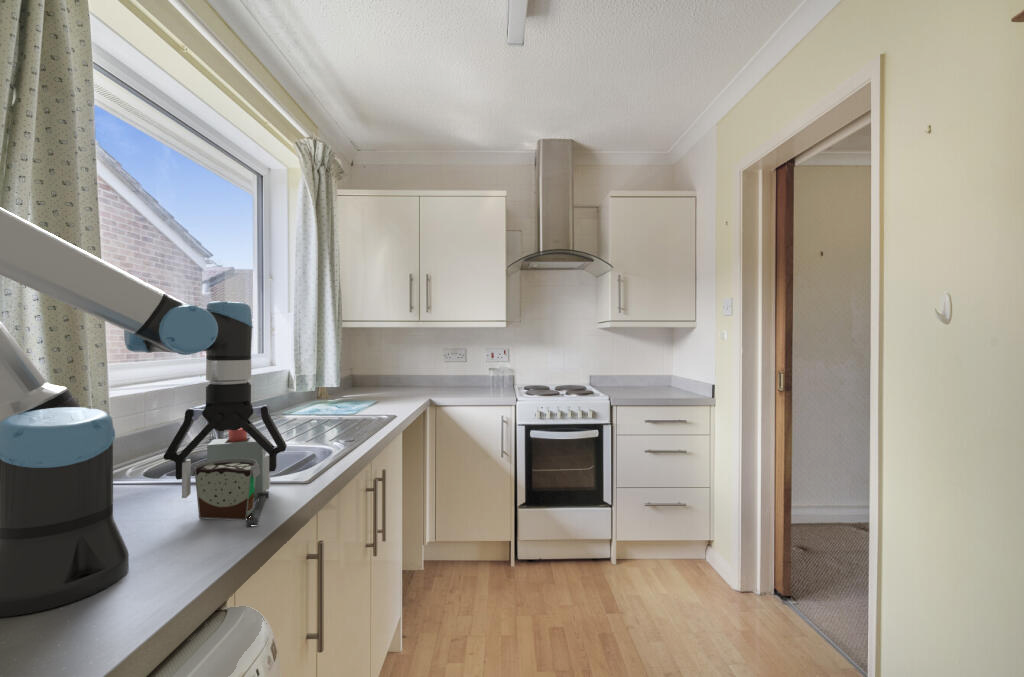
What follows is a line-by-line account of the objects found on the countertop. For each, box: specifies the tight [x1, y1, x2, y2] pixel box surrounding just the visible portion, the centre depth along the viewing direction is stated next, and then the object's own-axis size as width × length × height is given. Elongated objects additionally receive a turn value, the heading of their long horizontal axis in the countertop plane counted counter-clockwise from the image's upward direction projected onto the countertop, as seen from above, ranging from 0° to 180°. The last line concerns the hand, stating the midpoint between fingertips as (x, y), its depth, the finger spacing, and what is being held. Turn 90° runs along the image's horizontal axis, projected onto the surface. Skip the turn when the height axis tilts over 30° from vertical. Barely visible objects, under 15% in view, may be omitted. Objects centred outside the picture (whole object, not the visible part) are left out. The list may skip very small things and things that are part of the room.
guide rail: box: [245, 490, 270, 527], centre depth 92 cm, size 2×17×1 cm, turn 22°
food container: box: [191, 458, 260, 521], centre depth 90 cm, size 12×6×10 cm, turn 85°
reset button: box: [227, 428, 248, 442], centre depth 100 cm, size 3×3×2 cm
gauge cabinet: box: [206, 435, 267, 500], centre depth 99 cm, size 10×6×12 cm, turn 111°
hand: (227, 492), depth 91 cm, fingers open, 13 cm apart
